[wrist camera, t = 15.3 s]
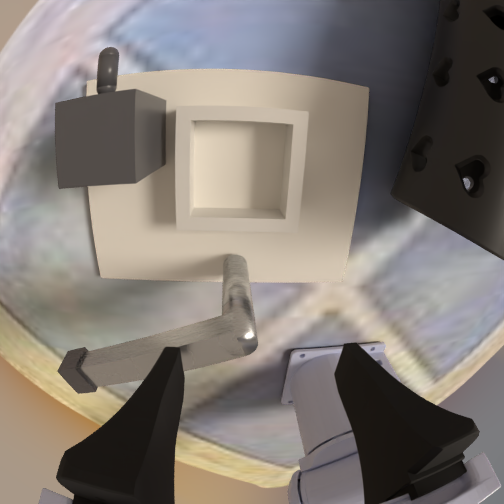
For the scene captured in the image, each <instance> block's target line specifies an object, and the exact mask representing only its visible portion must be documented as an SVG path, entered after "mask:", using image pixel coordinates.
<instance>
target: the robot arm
mask: <svg viewBox="0 0 504 504" xmlns="http://www.w3.org/2000/svg"><path fill="white" fill-rule="evenodd" d="M385 347H386V345H385V343H384V342H377V343H369V344H360V345H358V344H357V343H347V344H344V346H340V347H328V348H314V349H298V350H294V351H292V352H291V354H290V359H289V364H288V369H287V374H286V379H285V384H284V388H283V393H282V398H281V403H282V404H284V405H289V404H294V407H295V412H296V416H297V421H298V425H299V430H300V434H301V439H302V444H303V448H304V453H305V457H304V458H301V459H299V464H300V469H301V470H298V471H296V472H295V473H294V474H293V476H292V478H291V481H290V483H289V486H288V499H289V504H479V503H480V502H481V501H483V500H484V499H486V498H487V497H488V496H490V495H491V494H492V493H494V492H495V491H496V490H497V489H499V488H500V487H501V485H500V482H499V480H498V478H497V476H496V474H495V472H494V470H493V468H492V466H491V464H490V462H489V460H488V459H487V457H486V455H485V453H484V452H482V453H481V454H479V455H477V456H476V457H474V458H473V459H471V460H469V461H468V462H466V463H465V464H463V462H462V460H463V459H464V458H465V456H464V454H463V451H464V450H466V448H468V447H469V446H470V445H471V444H472V443H473V442H474V441H475V439H476V438H477V437H478V436H479V432H480V431H479V430H478V428H477V426H476V425H475V423H474V421H473V420H472V419H470V418H467V417H464V416H461V415H458V414H455V413H452V412H450V411H447V410H445V409H443V408H441V407H439V406H437V405H435V404H433V403H431V402H429V401H427V400H425V399H424V398H422V397H420V396H419V395H417V394H416V393H414V392H413V391H411V390H410V389H408V388H407V387H406V386H404V385H403V384H402V383H401V381H400V380H399V378H398V376H397V374H396V373H395V371H394V369H393V367H392V366H391V364H390V362H389V360H388V359H387V357H386V355H385V353H384V350H385ZM301 354H303V355H301ZM184 380H185V377H184V371H183V365H182V358H181V351H180V347H167V346H166V347H165V348H164V349H163V351H162V353H161V354H160V356H159V358H158V360H157V361H156V363H155V364H154V366H153V368H152V369H151V371H150V372H149V374H148V375H147V376H146V378H145V379H144V381H143V382H142V384H141V385H140V386H139V388H138V389H137V390H136V391H135V393H134V394H133V395H132V396H131V398H130V399H129V400H128V401H127V402H126V403H125V405H124V406H123V407H122V408H121V409H120V410H119V411H118V412H117V413H116V414H115V415H114V416H113V417H112V418H111V419H110V420H108V421H107V422H106V423H105V424H104V425H103V426H102V427H100V428H99V429H98V430H96V431H95V432H94V433H93V434H91V435H90V436H89V437H87V438H86V439H84V440H83V441H82V442H80V443H78V444H76V445H75V446H73V447H71V448H70V449H68V450H66V451H65V453H64V455H63V457H62V459H61V462H60V465H59V469H58V472H57V476H56V478H57V480H58V482H59V483H60V484H61V485H63V486H64V487H65V488H66V489H68V490H69V491H70V492H72V493H73V494H74V499H73V500H72V499H70V498H68V497H65V496H63V495H60V494H58V493H55V492H53V491H50V490H48V489H46V488H43V489H42V492H41V496H40V500H39V504H175V502H174V464H175V463H174V462H175V445H176V437H177V432H178V426H179V420H180V415H181V409H182V403H183V396H184Z"/></svg>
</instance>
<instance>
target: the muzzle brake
mask: <svg viewBox="0 0 504 504" xmlns="http://www.w3.org/2000/svg"><path fill="white" fill-rule="evenodd" d="M494 76H495V77H494ZM491 77H494V80H495V83H491V82H490V81H489V78H491ZM463 178H468V179H469V180H470V187H469V189H466V188H465V185H464V182H463ZM391 195H392V197H393V198H395V199H396V200H398V201H400V202H402V203H403V204H405V205H407V206H409V207H411V208H413V209H414V210H416V211H418V212H420V213H422V214H424V215H425V216H427V217H429V218H431V219H433V220H435V221H436V222H438V223H440V224H442V225H444V226H445V227H447V228H449V229H451V230H452V231H454V232H456V233H458V234H459V235H461V236H463V237H465V238H466V239H468V240H470V241H472V242H473V243H475V244H477V245H478V246H480V247H482V248H483V249H485V250H487V251H489V252H490V253H492V254H494V255H495V256H497V257H499V258H501V259H502V260H504V0H440V7H439V14H438V21H437V27H436V34H435V39H434V45H433V50H432V55H431V60H430V65H429V69H428V73H427V78H426V82H425V86H424V90H423V94H422V98H421V102H420V105H419V109H418V113H417V116H416V120H415V123H414V126H413V130H412V133H411V136H410V139H409V142H408V146H407V149H406V152H405V155H404V158H403V161H402V163H401V166H400V169H399V172H398V175H397V178H396V180H395V183H394V186H393V188H392V191H391Z"/></svg>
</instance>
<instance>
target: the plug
mask: <svg viewBox="0 0 504 504" xmlns="http://www.w3.org/2000/svg"><path fill="white" fill-rule="evenodd" d="M118 62H119V52H118V50H117V49H116V48H113V47H108V48H105V49H104V50H102V52H101V53H100V55H99V60H98V71H97V86H96V91H97V93H98V94H96V95H91V96H85V97H80V98H76V99H71V100H67V101H62V102H58V103H55V144H56V163H57V176H58V187H59V189H63V188H74V187H86V186H101V185H117V184H136V183H138V182H139V181H141V180H142V179H144V178H145V177H147V176H148V175H150V174H151V173H153V172H154V171H156V170H158V169H159V168H161V167H162V166H164V165H166V100H164V99H162V98H159V97H157V96H154V95H151V94H149V93H146V92H143V91H141V90H138V89H129V90H122V91H116V89H117V75H118Z"/></svg>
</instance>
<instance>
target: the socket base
mask: <svg viewBox="0 0 504 504" xmlns="http://www.w3.org/2000/svg"><path fill="white" fill-rule="evenodd" d="M96 86H97V79H95V80H90V81H87V93H86V96H91V95H96V94H98V93H97V91H96ZM129 89H138V90H141V91H143V92H146V93H149V94H151V95H154V96H157V97H159V98H162V99H164V100H166V165H164V166H162V167H161V168H159V169H158V170H156V171H154V172H153V173H151V174H150V175H148V176H147V177H145V178H144V179H142V180H141V181H139V182H138V183H136V184H117V185H101V186H88V193H89V203H90V212H91V221H92V228H93V235H94V242H95V248H96V254H97V260H98V265H99V270H100V275H101V278H112V279H135V280H163V281H200V282H223V263H224V261H225V259H226V258H227V257H229V256H231V255H240V256H242V257H244V258H245V259H246V261H247V265H248V273H249V280H250V282H343V277H344V273H345V268H346V263H347V259H348V254H349V248H350V243H351V238H352V232H353V227H354V221H355V215H356V209H357V203H358V196H359V189H360V182H361V174H362V166H363V158H364V149H365V139H366V128H367V116H368V101H369V88H368V87H364V86H360V85H355V84H351V83H346V82H341V81H336V80H330V79H325V78H319V77H312V76H305V75H298V74H290V73H281V72H271V71H258V70H241V69H183V70H165V71H153V72H143V73H134V74H126V75H119V76H117V89H116V91H122V90H129Z"/></svg>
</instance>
